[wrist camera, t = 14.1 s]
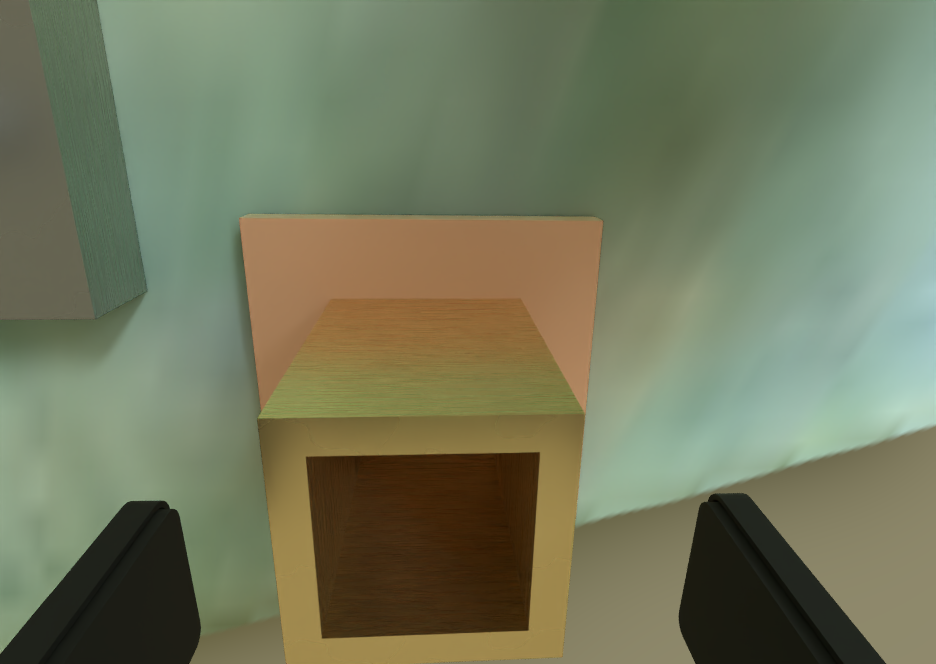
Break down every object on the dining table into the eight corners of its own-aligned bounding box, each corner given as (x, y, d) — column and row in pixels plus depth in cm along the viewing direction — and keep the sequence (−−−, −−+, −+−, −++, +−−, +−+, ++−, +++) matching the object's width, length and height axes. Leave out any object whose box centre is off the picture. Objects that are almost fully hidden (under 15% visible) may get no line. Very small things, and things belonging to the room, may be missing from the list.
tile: (594, 216, 18) (603, 221, 17) (569, 502, 22) (575, 518, 21) (249, 213, 18) (238, 218, 17) (281, 509, 21) (274, 527, 20)
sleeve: (520, 298, 18) (585, 413, 11) (513, 461, 20) (562, 657, 13) (331, 298, 18) (257, 418, 10) (341, 464, 20) (286, 668, 12)
